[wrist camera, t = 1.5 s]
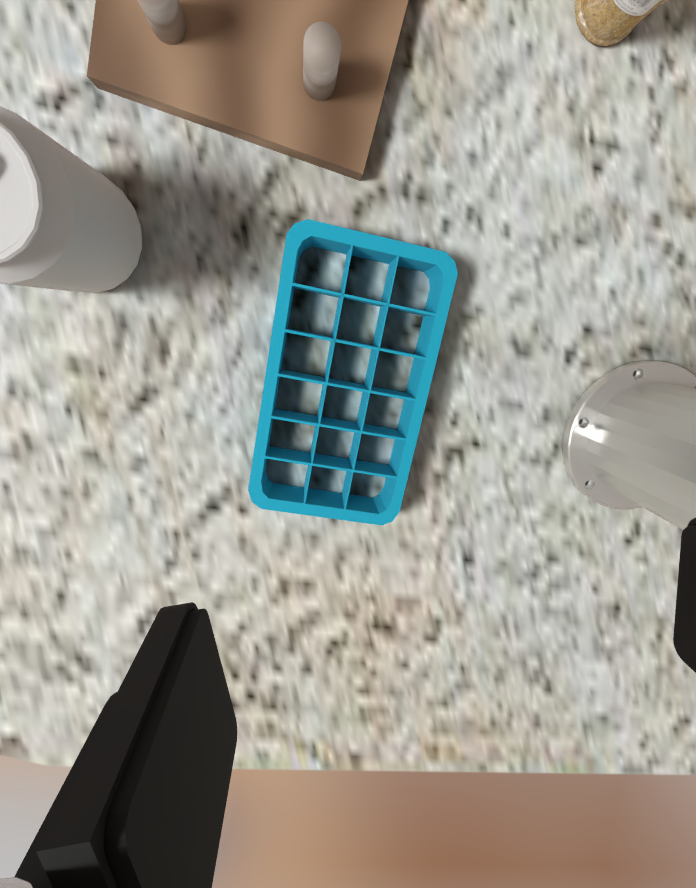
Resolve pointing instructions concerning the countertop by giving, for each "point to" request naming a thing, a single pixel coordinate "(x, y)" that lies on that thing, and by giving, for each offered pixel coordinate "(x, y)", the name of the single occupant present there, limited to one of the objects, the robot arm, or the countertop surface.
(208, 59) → the peg board
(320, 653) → the countertop surface
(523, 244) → the countertop surface
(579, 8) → the sprinkles bottle
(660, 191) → the countertop surface
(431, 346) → the ice cube tray
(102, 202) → the can
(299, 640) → the countertop surface
